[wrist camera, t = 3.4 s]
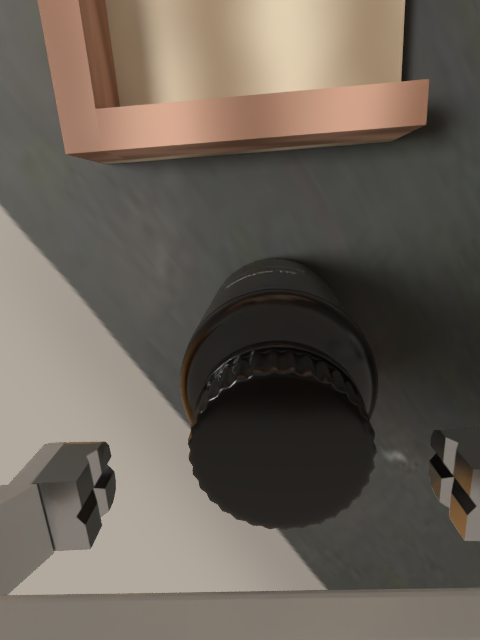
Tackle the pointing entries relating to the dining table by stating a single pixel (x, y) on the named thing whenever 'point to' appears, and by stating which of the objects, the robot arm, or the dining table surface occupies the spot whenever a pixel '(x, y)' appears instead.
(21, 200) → the dining table surface
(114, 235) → the dining table surface
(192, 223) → the dining table surface
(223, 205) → the dining table surface
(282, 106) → the open-sided tray
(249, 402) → the supplement bottle
